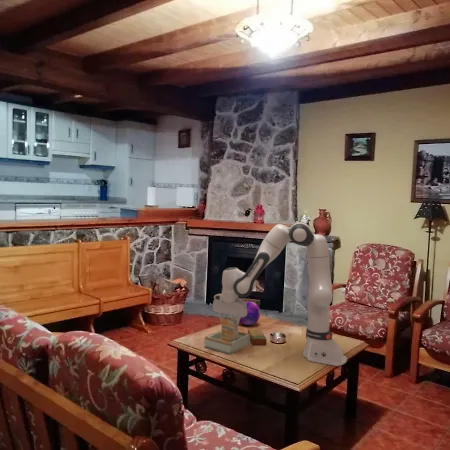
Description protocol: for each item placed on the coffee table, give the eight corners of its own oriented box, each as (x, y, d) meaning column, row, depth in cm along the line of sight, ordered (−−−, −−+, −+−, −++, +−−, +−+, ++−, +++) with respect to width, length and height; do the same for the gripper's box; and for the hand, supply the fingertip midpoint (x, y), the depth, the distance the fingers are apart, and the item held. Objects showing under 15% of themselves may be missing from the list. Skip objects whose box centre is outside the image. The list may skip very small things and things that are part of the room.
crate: (249, 344, 245) (250, 334, 245) (229, 354, 228) (230, 343, 228) (225, 337, 254) (225, 327, 254) (204, 347, 237) (204, 336, 237)
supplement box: (221, 341, 242) (220, 318, 240) (226, 338, 246) (225, 315, 244) (233, 344, 237) (233, 321, 235) (238, 341, 241) (238, 318, 239)
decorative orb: (251, 330, 270) (252, 305, 269) (231, 324, 279) (232, 301, 278) (264, 324, 282) (265, 301, 281) (244, 319, 291) (245, 297, 290)
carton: (261, 336, 260) (261, 329, 260) (266, 346, 244) (267, 338, 244) (247, 336, 259) (247, 329, 259) (251, 346, 243) (252, 338, 243)
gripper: (249, 298, 236) (249, 324, 237) (218, 293, 247) (217, 317, 248) (243, 301, 231) (242, 327, 232) (211, 295, 242) (211, 320, 243)
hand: (229, 322), depth 240 cm, fingers open, 8 cm apart
